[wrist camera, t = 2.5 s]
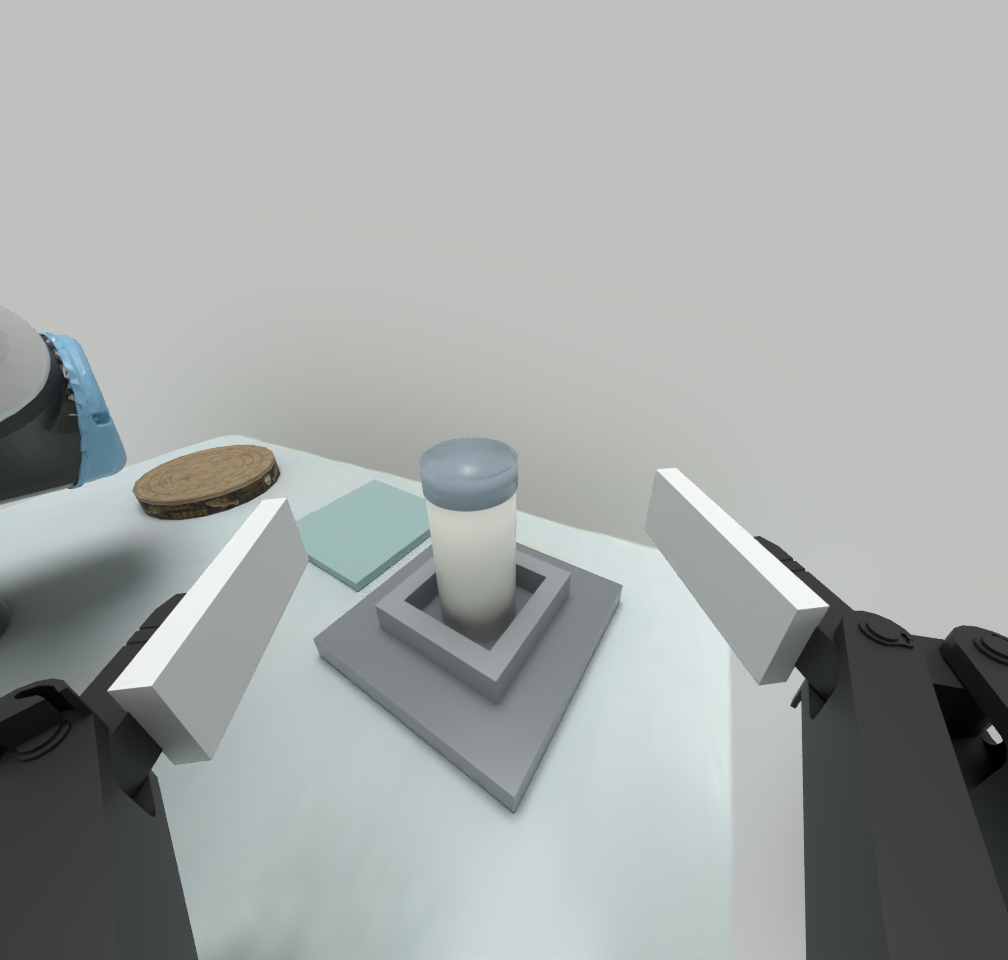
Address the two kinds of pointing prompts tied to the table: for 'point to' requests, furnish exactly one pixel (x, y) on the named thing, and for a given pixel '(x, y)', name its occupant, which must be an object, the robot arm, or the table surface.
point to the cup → (473, 532)
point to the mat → (364, 532)
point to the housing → (477, 664)
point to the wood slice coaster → (206, 482)
